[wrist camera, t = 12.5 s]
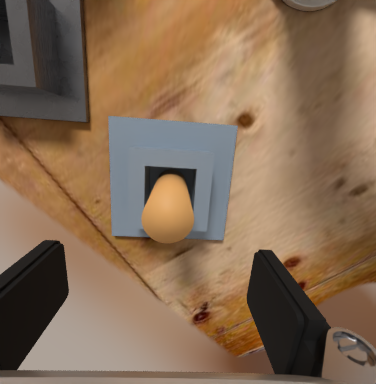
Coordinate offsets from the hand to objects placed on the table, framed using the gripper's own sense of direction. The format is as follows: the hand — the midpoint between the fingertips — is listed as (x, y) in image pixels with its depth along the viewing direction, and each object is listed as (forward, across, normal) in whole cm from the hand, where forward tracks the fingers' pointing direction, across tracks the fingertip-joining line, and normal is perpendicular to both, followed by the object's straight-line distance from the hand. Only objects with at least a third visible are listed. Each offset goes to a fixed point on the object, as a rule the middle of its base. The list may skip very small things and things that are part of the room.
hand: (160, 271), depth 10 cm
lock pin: (+21, 0, +1) cm, 21 cm away
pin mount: (+22, +20, -15) cm, 34 cm away
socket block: (+22, 0, +1) cm, 22 cm away
